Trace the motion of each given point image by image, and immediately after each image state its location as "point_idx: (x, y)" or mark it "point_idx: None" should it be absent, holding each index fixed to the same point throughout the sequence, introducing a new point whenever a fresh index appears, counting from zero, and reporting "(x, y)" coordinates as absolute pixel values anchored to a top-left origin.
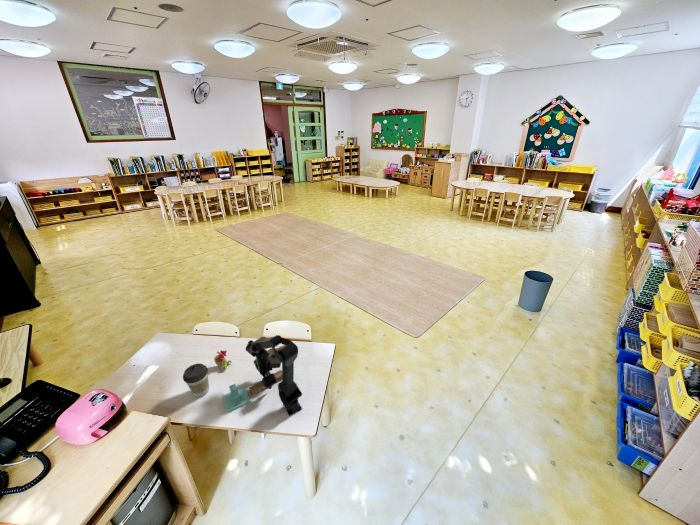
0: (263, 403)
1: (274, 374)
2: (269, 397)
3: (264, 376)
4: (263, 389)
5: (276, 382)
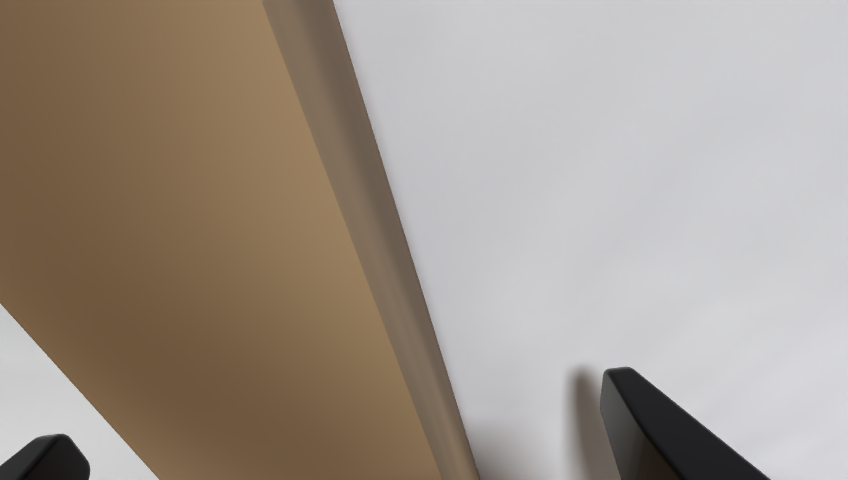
0: (753, 441)
1: (55, 252)
2: (712, 348)
3: (69, 470)
4: (464, 444)
5: (365, 128)
